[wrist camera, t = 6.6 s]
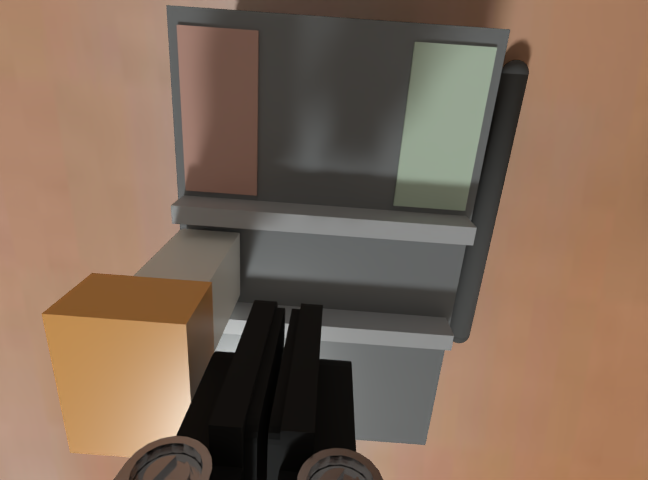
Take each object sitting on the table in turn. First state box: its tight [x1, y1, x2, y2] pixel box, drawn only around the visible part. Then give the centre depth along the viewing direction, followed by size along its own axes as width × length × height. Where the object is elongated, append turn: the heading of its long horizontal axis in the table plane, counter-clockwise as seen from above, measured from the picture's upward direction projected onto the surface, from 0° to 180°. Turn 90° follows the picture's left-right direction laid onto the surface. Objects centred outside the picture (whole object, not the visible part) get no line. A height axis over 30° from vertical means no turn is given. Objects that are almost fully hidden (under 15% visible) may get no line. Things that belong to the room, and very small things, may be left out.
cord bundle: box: [450, 60, 529, 343], centre depth 22 cm, size 15×3×1 cm, turn 176°
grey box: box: [166, 5, 510, 445], centre depth 18 cm, size 16×10×9 cm, turn 176°
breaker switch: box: [42, 229, 240, 457], centre depth 12 cm, size 4×3×7 cm
